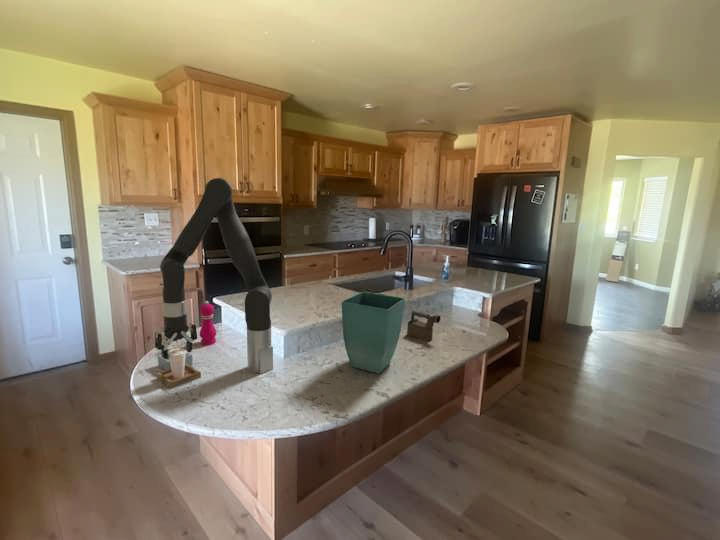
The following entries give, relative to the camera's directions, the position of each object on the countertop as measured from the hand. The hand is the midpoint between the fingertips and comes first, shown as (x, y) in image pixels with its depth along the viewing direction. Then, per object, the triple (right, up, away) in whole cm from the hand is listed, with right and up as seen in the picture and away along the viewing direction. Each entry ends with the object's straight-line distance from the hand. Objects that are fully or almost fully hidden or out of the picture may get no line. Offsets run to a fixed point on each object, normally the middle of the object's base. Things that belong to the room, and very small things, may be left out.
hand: (177, 355), depth 137 cm
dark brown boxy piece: (+98, -3, +52) cm, 111 cm away
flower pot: (+72, -8, +19) cm, 75 cm away
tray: (0, -9, +2) cm, 9 cm away
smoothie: (0, -8, +1) cm, 8 cm away
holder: (-7, -7, +12) cm, 15 cm away
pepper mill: (-3, -2, +35) cm, 35 cm away
